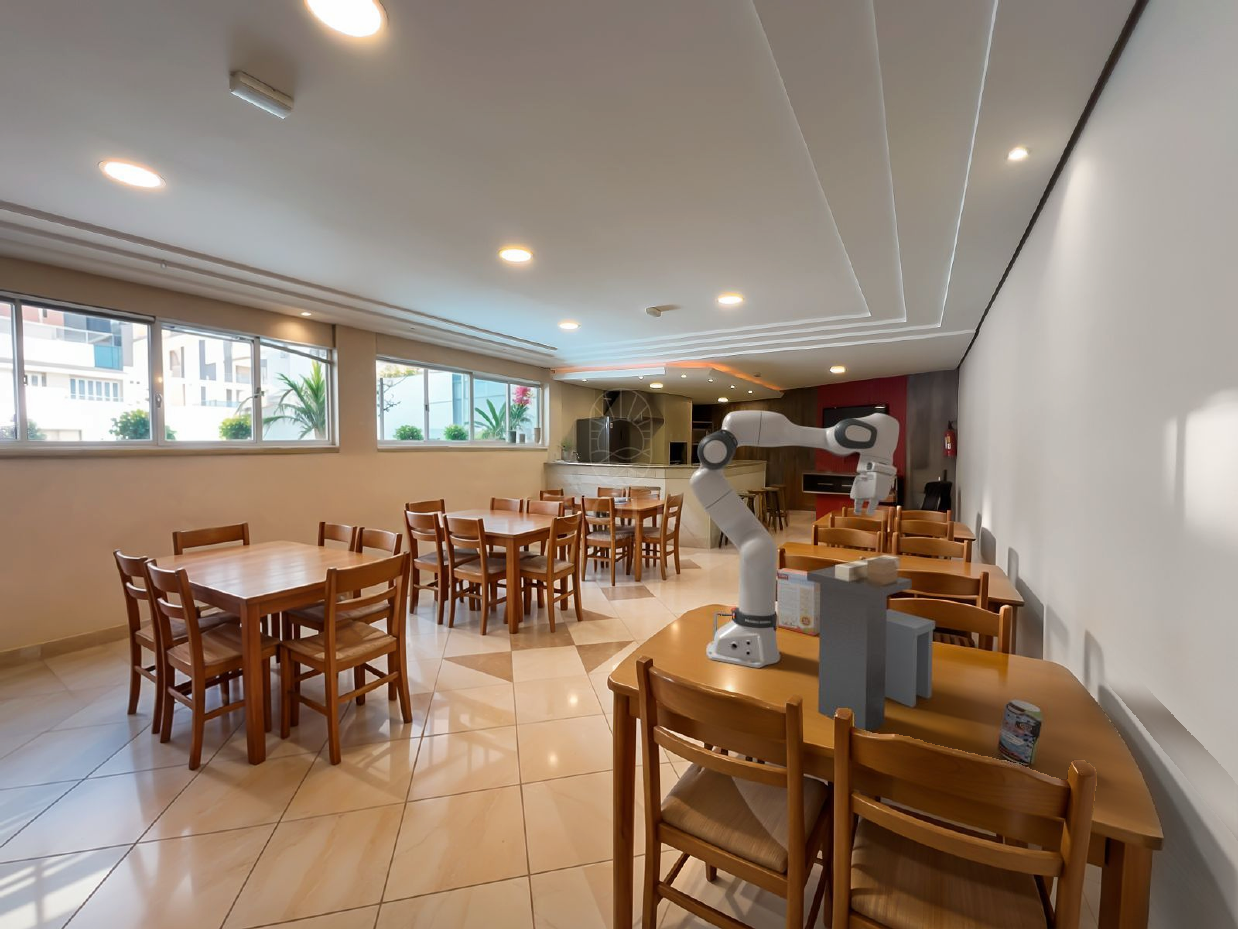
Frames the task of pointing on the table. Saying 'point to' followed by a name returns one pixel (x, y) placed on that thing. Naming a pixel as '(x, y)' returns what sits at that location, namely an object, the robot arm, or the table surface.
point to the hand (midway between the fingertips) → (863, 514)
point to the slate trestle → (908, 657)
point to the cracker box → (798, 602)
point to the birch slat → (859, 568)
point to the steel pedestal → (855, 641)
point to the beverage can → (1020, 731)
